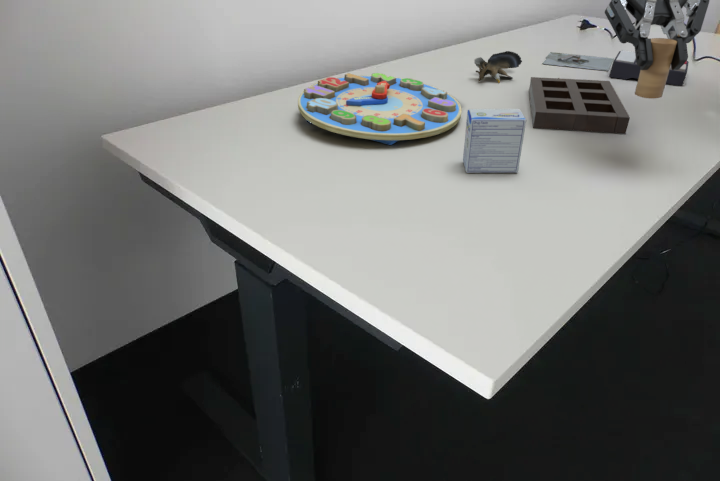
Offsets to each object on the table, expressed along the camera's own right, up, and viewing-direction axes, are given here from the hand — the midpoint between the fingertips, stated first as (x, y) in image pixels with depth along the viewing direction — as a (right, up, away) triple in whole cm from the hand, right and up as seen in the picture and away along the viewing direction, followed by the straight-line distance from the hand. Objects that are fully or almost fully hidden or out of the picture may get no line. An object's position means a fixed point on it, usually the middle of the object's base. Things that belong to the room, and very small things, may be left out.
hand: (662, 66), depth 74 cm
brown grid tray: (0, +1, +31) cm, 31 cm away
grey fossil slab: (+8, +21, +62) cm, 66 cm away
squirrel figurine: (-11, +12, +49) cm, 51 cm away
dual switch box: (+25, +14, +50) cm, 58 cm away
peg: (0, -3, +4) cm, 5 cm away
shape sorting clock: (-38, -1, +29) cm, 48 cm away
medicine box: (-22, -13, +9) cm, 27 cm away
